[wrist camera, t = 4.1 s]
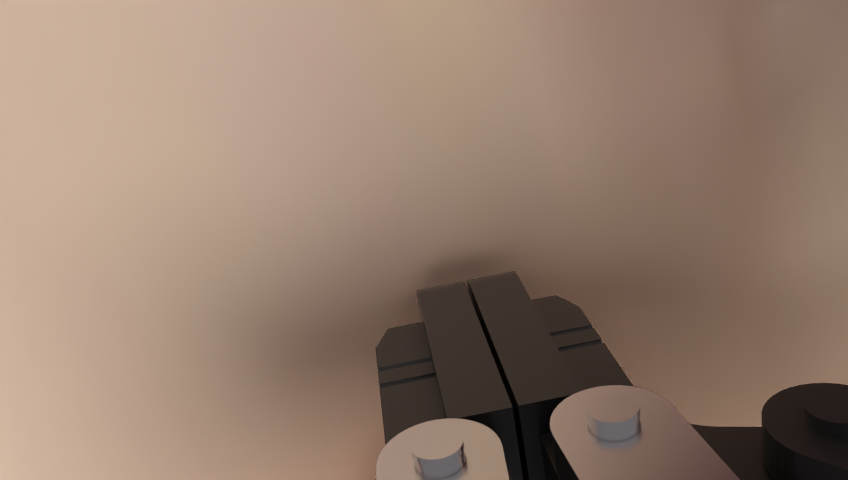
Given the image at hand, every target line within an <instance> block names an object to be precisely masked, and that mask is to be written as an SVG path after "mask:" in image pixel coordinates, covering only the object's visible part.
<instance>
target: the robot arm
mask: <svg viewBox="0 0 848 480" xmlns="http://www.w3.org/2000/svg"><path fill="white" fill-rule="evenodd" d="M417 297H418V303H419V308H420V314H421V319H422V322H420V323H415V324H410V325H405V326H400V327H395V328H390V329H388V330H387V331H386V333H385V334H384V336H383V338H382V339H381V341H380V342H379V344H378V346H377V347H376V356H377V366H378V375H379V385H380V395H381V405H382V415H383V425H384V435H385V446H384V448H383V449H382V451H381V452H380V454H379V457H378V459H377V464H376V479H375V480H848V385H842V384H832V383H812V384H804V385H798V386H794V387H790V388H788V389H785V390H782V391H780V392H778V393H777V394H775V395H773V396H772V397H771V398H770V399H769V400H768V401H767V402H766V403H765V405H764V407H763V410H762V427H713V426H701V425H694V424H690V423H689V422H688V421H687V420H686V419H685V418H684V417H683V416H682V415H681V413H680V412H679V411H678V410H677V409H676V408H675V407H674V406H673V405H672V404H671V403H670V402H669V401H668V400H667V399H665V398H664V397H662V396H660V395H659V394H656V393H654V392H652V391H649V390H646V389H643V388H638V387H634V386H633V385H632V383H631V382H630V381H629V379H628V378H627V376H626V375H625V373H624V372H623V370H622V369H621V367H620V366H619V364H618V363H617V361H616V360H615V359H614V357H613V356H612V354H611V353H610V351H609V350H608V348H607V347H606V345H605V344H604V343H602V341H601V338H600V337H599V335H598V334H597V332H596V331H595V329H594V328H593V329H592V325H591V323H590V322H589V320H588V319H587V318H586V316H585V315H584V313H583V312H582V310H581V309H580V307H578V306H576V305H574V304H572V303H570V302H568V301H566V300H564V299H562V298H560V297H558V296H556V295H555V296H550V297H545V298H540V299H535V300H531V299H530V297H529V296H528V294H527V292H526V290H525V288H524V287H523V285H522V283H521V281H520V279H519V278H518V276H517V274H516V273H515V272H514V271H513V272H508V273H503V274H498V275H493V276H488V277H483V278H477V279H472V280H467V288H466V286H465V283H464V282H458V283H453V284H448V285H443V286H438V287H433V288H427V289H422V290H417Z"/></svg>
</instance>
